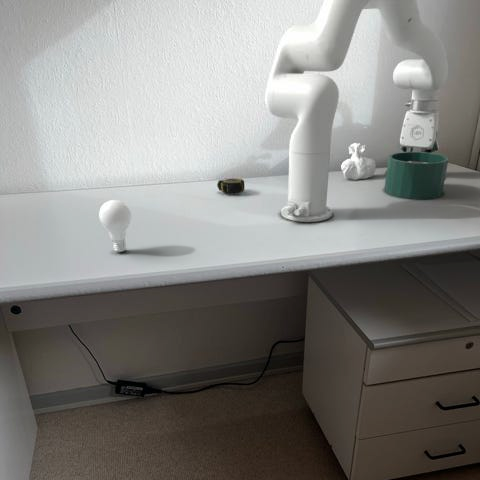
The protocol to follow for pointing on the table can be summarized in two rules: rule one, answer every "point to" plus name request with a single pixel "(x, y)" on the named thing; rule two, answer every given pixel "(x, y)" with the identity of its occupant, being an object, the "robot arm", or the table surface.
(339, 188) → the table surface
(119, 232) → the lightbulb
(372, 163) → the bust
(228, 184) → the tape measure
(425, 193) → the pot
